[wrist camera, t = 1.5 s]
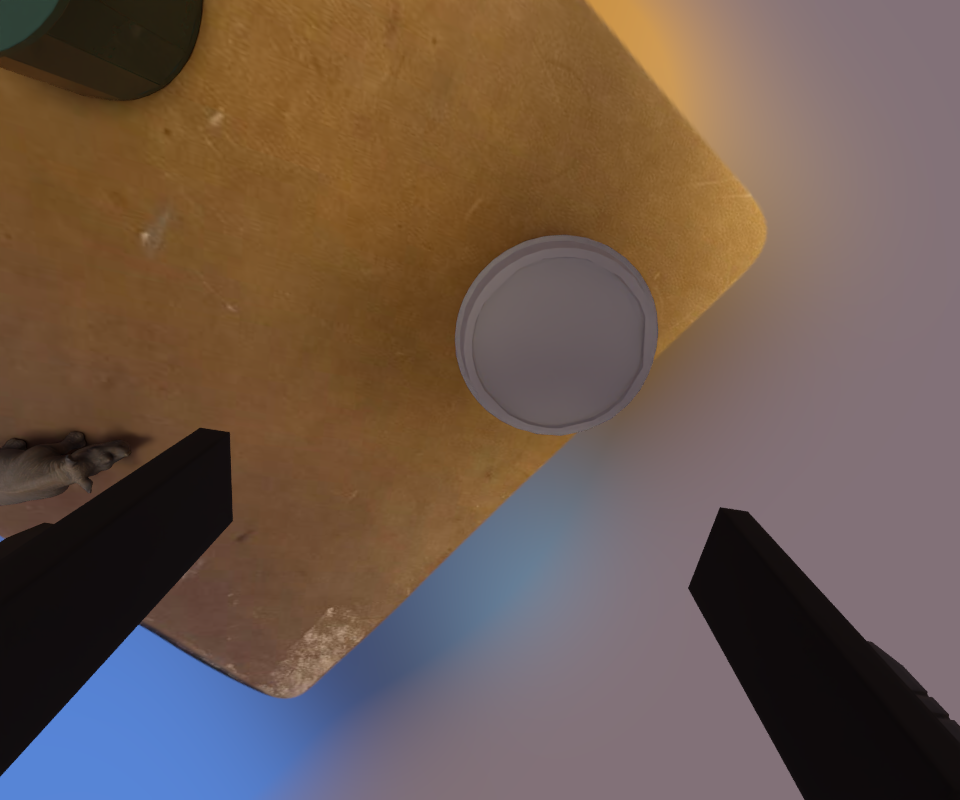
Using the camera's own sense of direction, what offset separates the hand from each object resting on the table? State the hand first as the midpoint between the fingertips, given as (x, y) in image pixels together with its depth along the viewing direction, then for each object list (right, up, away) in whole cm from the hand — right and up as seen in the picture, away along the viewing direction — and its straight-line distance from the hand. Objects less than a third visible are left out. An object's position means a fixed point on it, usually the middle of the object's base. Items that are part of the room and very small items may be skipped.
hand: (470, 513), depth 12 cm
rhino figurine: (-32, -1, +24) cm, 40 cm away
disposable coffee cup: (+4, +9, +20) cm, 22 cm away
